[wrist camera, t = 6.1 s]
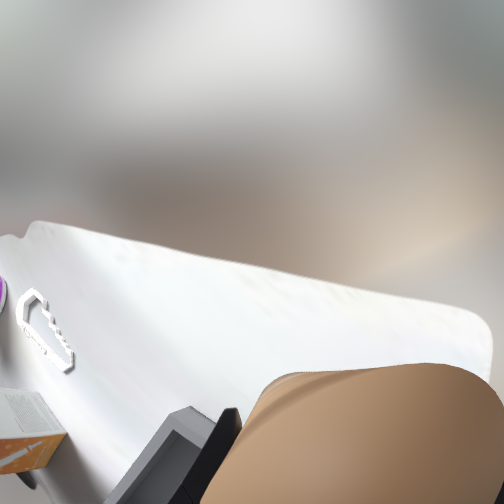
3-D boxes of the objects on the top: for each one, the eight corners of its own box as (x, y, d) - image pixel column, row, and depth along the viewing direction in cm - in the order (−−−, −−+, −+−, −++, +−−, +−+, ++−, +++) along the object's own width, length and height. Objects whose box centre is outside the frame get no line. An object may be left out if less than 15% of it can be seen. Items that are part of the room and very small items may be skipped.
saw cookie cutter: (91, 337, 24) (82, 335, 22) (75, 376, 22) (65, 375, 20) (30, 283, 26) (22, 278, 24) (16, 315, 24) (7, 311, 23)
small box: (47, 467, 16) (-35, 479, 4) (18, 427, 18) (-61, 422, 6) (69, 433, 18) (-28, 439, 6) (38, 389, 20) (-53, 374, 8)
